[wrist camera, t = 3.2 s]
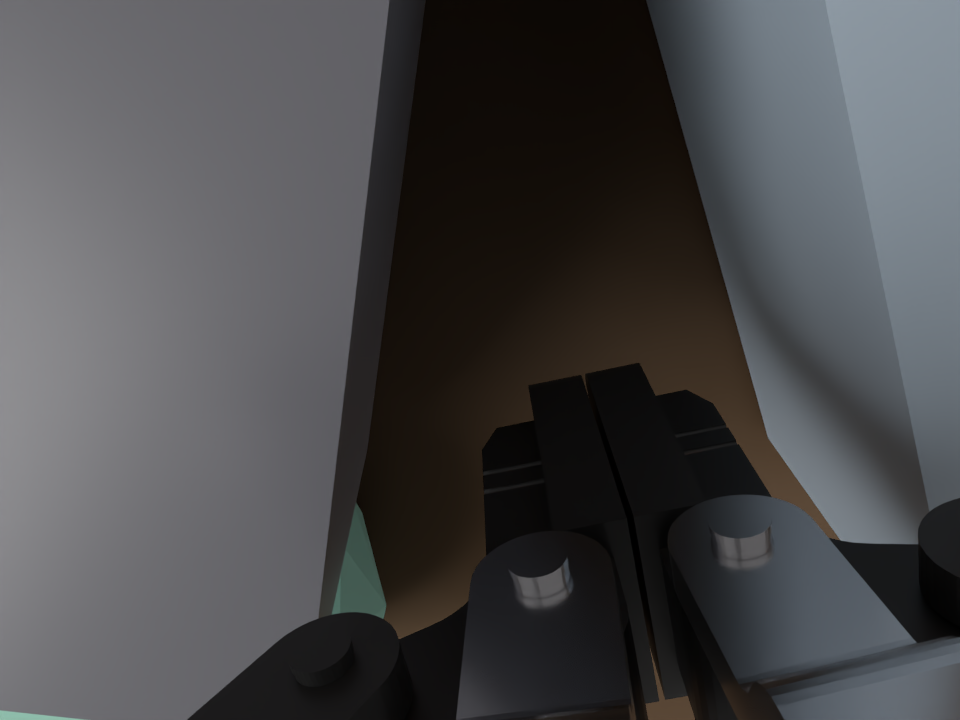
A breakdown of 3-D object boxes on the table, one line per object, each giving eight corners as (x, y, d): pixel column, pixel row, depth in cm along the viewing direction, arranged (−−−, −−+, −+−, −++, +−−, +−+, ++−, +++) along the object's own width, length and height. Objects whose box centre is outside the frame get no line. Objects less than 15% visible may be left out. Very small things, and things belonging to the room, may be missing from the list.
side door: (496, -505, 11) (551, -1314, 4) (641, -574, 11) (939, -1547, 4) (763, 439, 16) (975, 745, 9) (863, 406, 16) (1152, 696, 9)
